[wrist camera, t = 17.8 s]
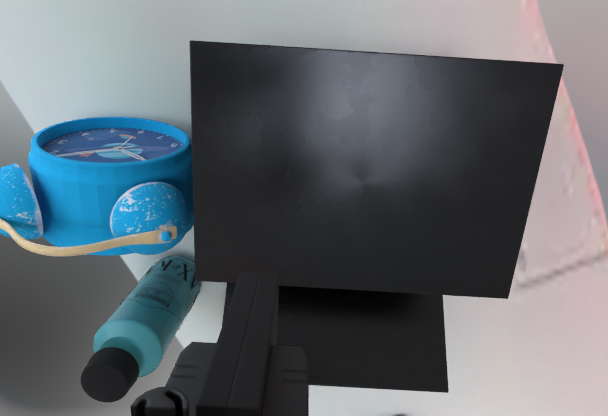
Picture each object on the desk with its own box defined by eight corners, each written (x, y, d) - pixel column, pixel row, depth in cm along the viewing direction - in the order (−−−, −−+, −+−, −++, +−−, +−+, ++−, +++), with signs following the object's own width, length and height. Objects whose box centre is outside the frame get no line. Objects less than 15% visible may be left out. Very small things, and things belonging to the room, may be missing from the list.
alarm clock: (225, 126, 45) (165, 159, 26) (219, 212, 49) (162, 297, 29) (76, 106, 45) (-95, 125, 26) (79, 195, 48) (-71, 270, 29)
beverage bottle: (207, 296, 52) (148, 420, 33) (155, 293, 52) (67, 416, 33) (206, 249, 50) (143, 353, 31) (152, 247, 50) (56, 348, 31)
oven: (237, 57, 43) (189, 40, 26) (459, 71, 43) (564, 64, 26) (236, 207, 48) (195, 280, 31) (434, 219, 49) (508, 299, 31)
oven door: (234, 221, 46) (215, 379, 41) (438, 233, 46) (448, 392, 41) (242, 240, 54) (228, 374, 49) (417, 250, 54) (422, 385, 49)
